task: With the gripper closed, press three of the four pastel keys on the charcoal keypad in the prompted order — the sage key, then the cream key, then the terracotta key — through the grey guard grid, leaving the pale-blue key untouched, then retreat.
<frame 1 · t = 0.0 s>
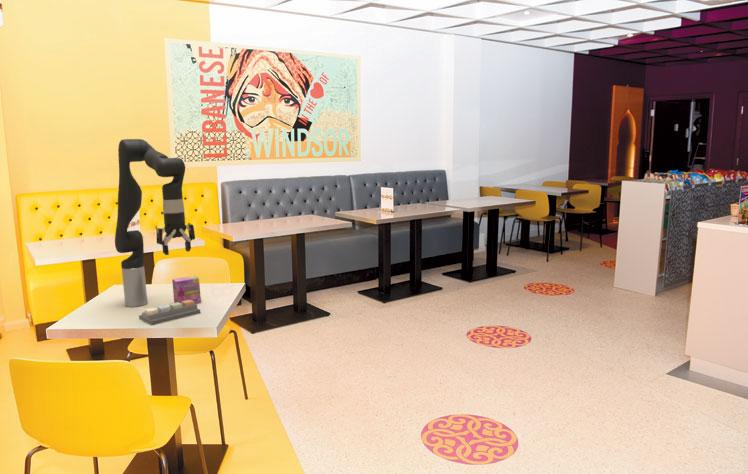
hand: (177, 253, 215), 29 cm above the table, fingers open, 8 cm apart
key cream: (151, 311, 227), point 4 cm above the table, slide at 0.0 cm
box: (187, 304, 250), on the table
key blue: (163, 308, 230), point 4 cm above the table, slide at 0.0 cm
keypad: (170, 316, 233), on the table
key sage: (176, 306, 234), point 4 cm above the table, slide at 0.0 cm
key terracotta: (187, 303, 237), point 4 cm above the table, slide at 0.0 cm
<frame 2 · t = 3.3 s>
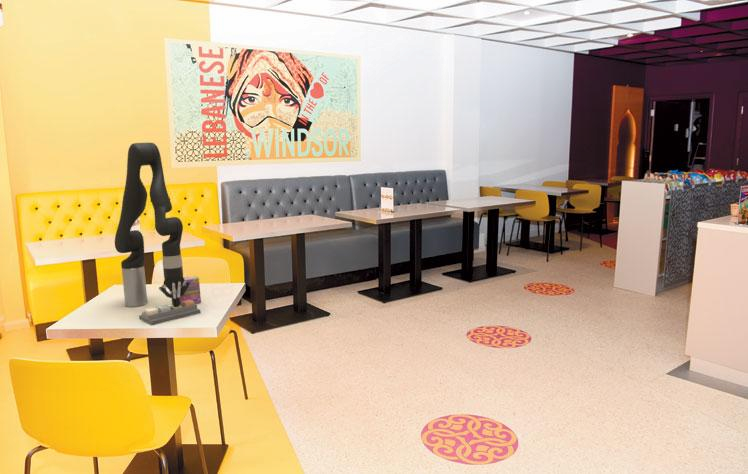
hand: (176, 306, 234), 4 cm above the table, fingers closed
key sage: (176, 308, 234), point 3 cm above the table, slide at 1.0 cm, touching gripper
everything else where it was.
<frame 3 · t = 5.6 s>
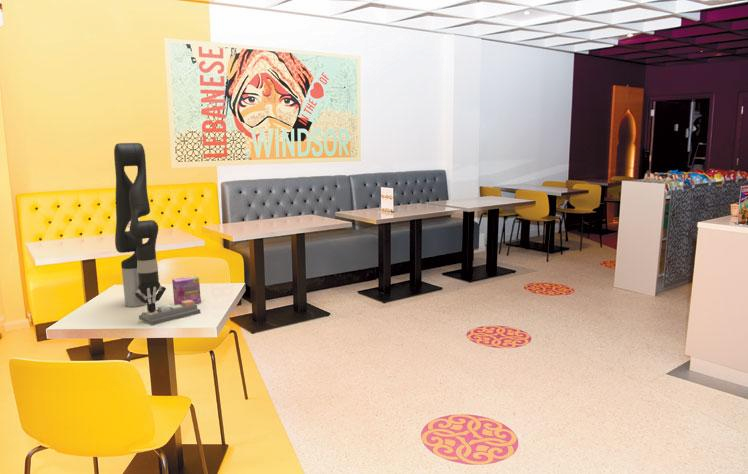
hand: (151, 312, 226), 4 cm above the table, fingers closed
key cream: (151, 314, 227), point 3 cm above the table, slide at 1.0 cm, touching gripper
key sage: (176, 308, 234), point 3 cm above the table, slide at 1.0 cm
everything else where it was.
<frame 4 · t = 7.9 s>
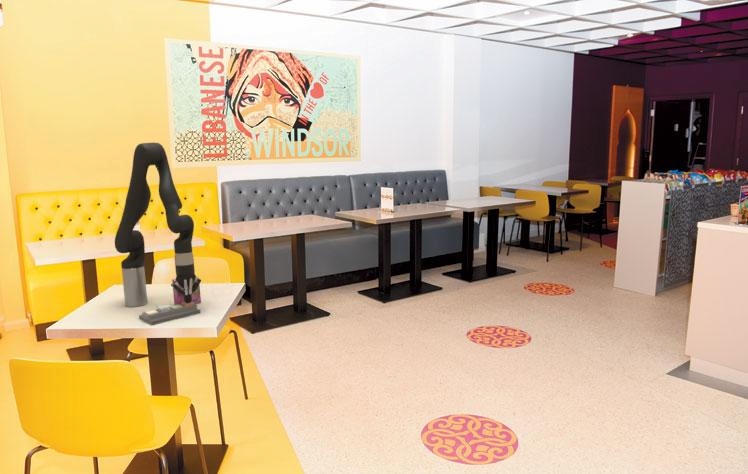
hand: (188, 302, 237), 4 cm above the table, fingers closed
key cream: (151, 314, 227), point 3 cm above the table, slide at 1.0 cm
key terracotta: (187, 304, 237), point 3 cm above the table, slide at 0.6 cm, touching gripper
everything else where it was.
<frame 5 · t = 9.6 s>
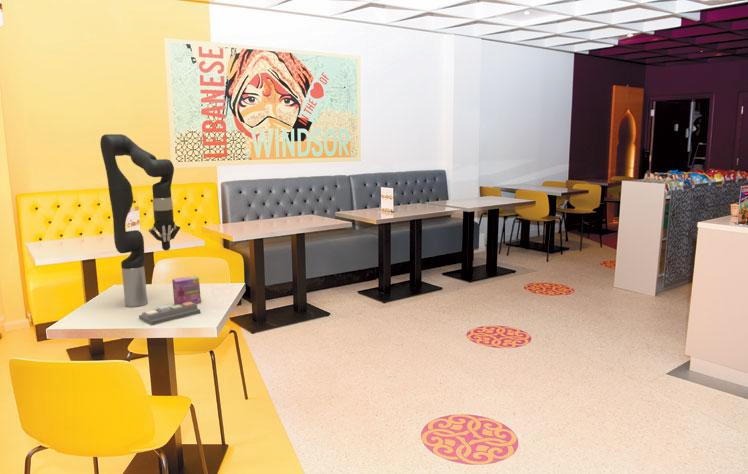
hand: (166, 250, 232), 27 cm above the table, fingers closed
key terracotta: (187, 305, 237), point 3 cm above the table, slide at 1.0 cm
everything else where it was.
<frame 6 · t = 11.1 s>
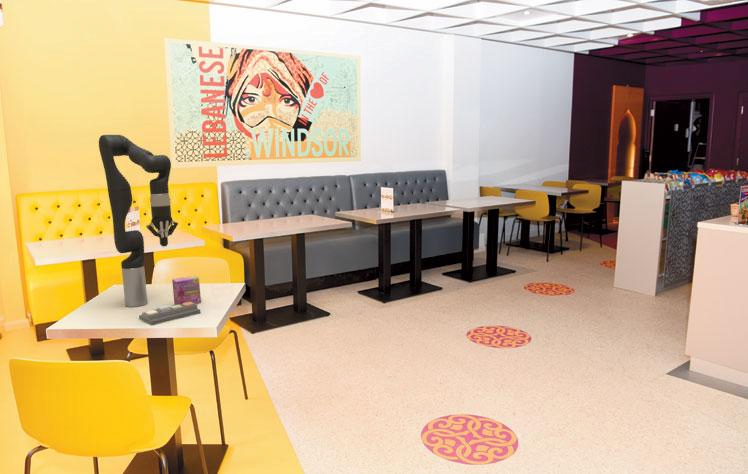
hand: (164, 246, 231), 29 cm above the table, fingers closed
nothing on the table moved.
at the end: key sage slide at 1.0 cm; key cream slide at 1.0 cm; key terracotta slide at 1.0 cm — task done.
